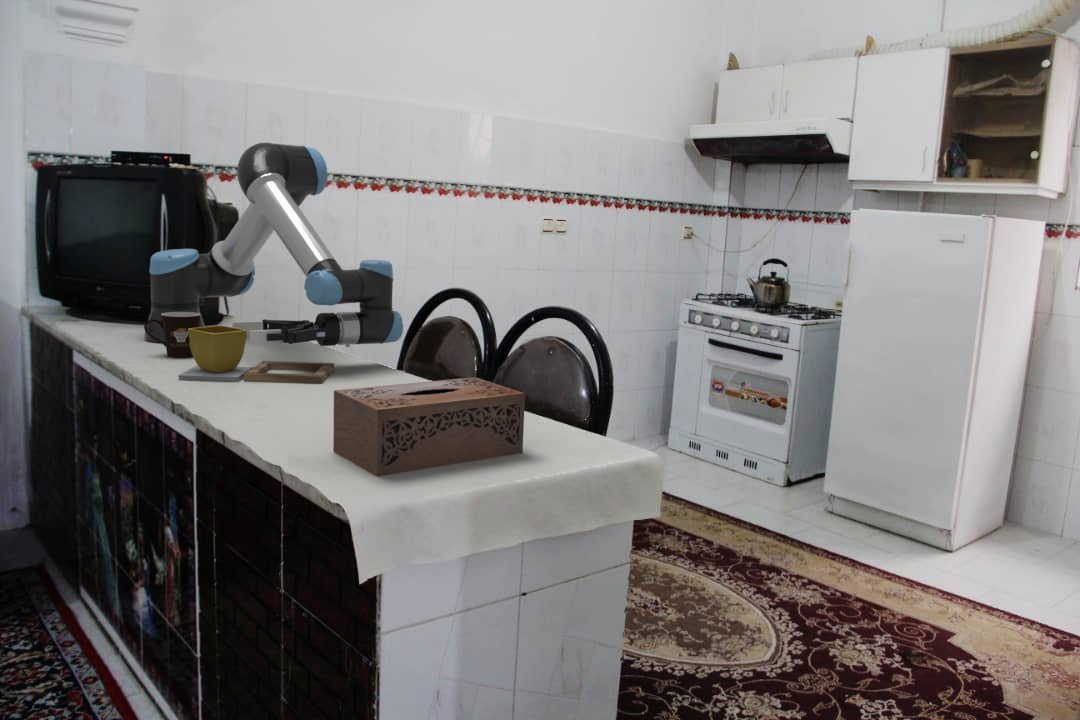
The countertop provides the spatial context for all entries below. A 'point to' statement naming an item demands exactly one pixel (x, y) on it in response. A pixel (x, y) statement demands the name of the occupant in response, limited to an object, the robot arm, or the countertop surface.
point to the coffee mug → (177, 332)
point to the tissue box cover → (427, 424)
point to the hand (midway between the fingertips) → (240, 332)
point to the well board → (260, 374)
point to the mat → (214, 374)
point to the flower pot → (217, 347)
